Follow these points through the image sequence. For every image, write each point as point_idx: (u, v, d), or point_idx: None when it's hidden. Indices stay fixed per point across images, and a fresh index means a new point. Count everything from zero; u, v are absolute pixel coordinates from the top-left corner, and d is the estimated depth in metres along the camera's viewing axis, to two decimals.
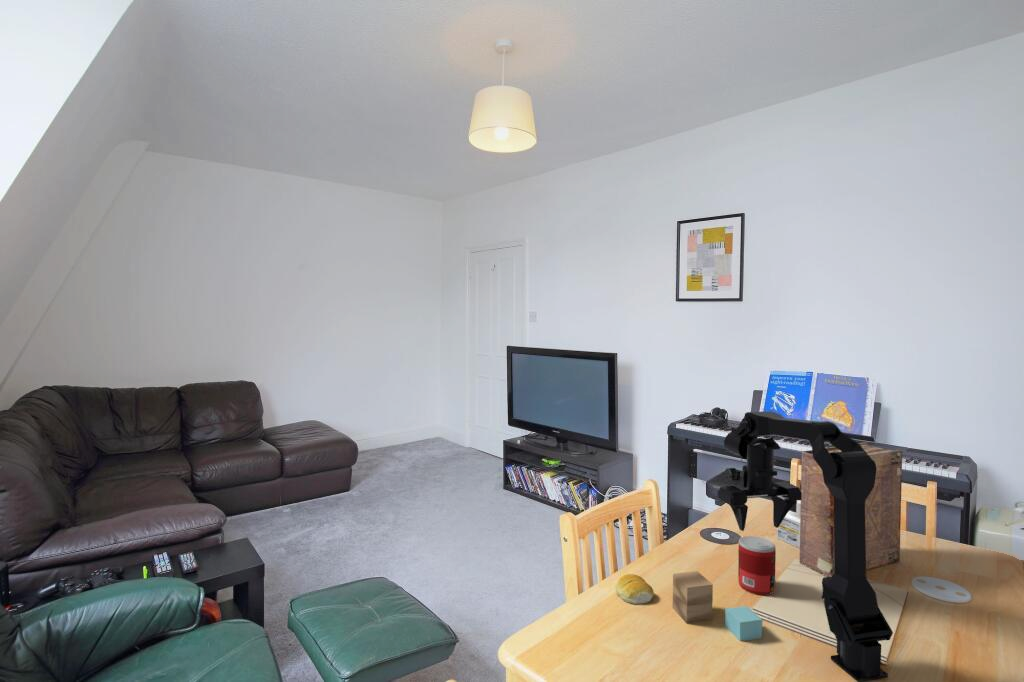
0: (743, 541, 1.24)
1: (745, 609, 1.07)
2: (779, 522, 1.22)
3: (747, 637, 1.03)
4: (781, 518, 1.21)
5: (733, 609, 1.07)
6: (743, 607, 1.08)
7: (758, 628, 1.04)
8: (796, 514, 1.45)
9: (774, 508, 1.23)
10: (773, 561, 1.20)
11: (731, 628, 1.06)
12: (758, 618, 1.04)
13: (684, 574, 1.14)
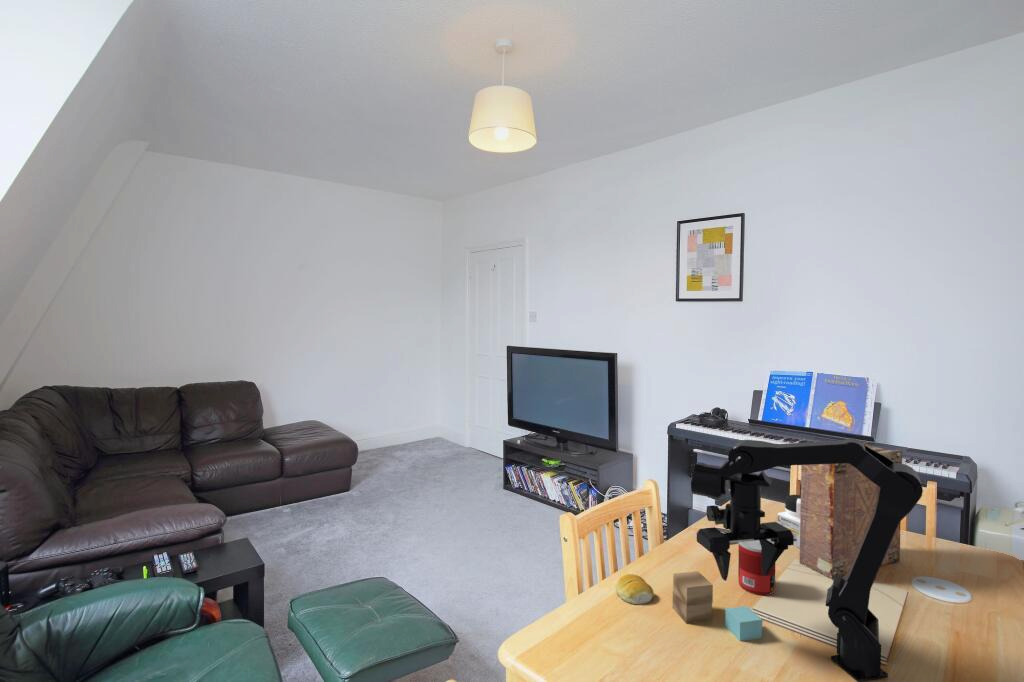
0: (744, 541, 1.24)
1: (745, 609, 1.07)
2: (768, 570, 1.05)
3: (747, 637, 1.03)
4: (770, 565, 1.05)
5: (733, 609, 1.07)
6: (743, 607, 1.08)
7: (758, 628, 1.04)
8: (796, 514, 1.45)
9: (762, 553, 1.07)
10: None
11: (731, 628, 1.06)
12: (758, 618, 1.04)
13: (684, 574, 1.14)
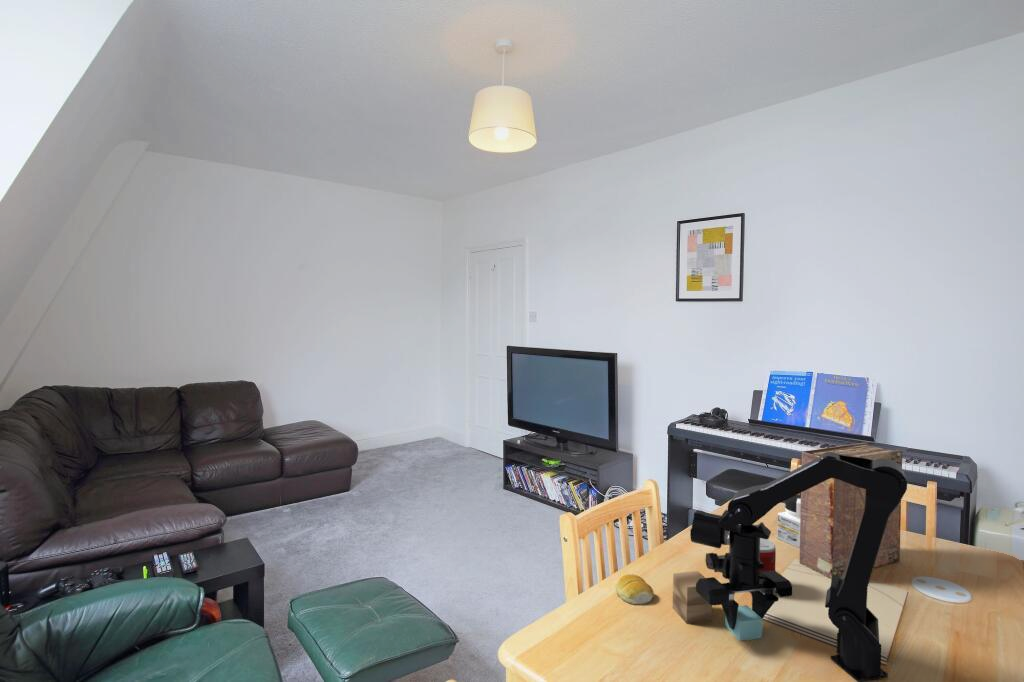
0: None
1: (745, 609, 1.07)
2: None
3: (747, 637, 1.03)
4: None
5: None
6: (743, 606, 1.08)
7: (758, 627, 1.04)
8: (796, 514, 1.45)
9: (753, 604, 1.07)
10: (773, 561, 1.20)
11: None
12: (758, 617, 1.04)
13: (684, 574, 1.14)
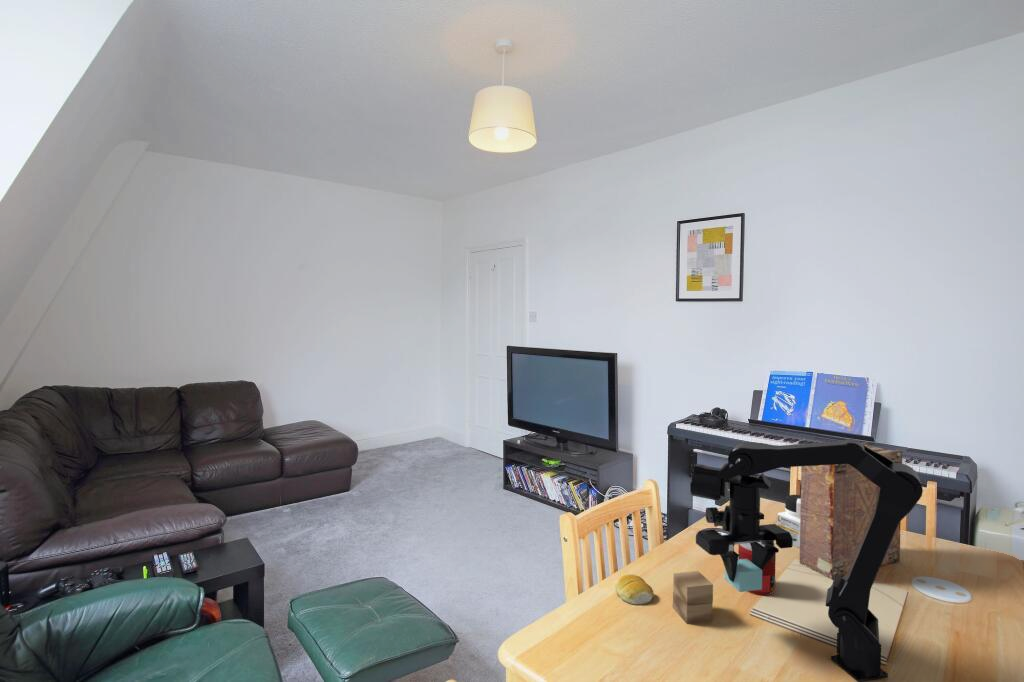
0: None
1: (745, 561, 1.07)
2: None
3: (747, 588, 1.03)
4: (760, 568, 1.05)
5: None
6: (742, 560, 1.08)
7: (758, 579, 1.03)
8: (796, 514, 1.45)
9: (753, 556, 1.07)
10: (773, 561, 1.20)
11: None
12: (758, 569, 1.04)
13: (685, 574, 1.14)
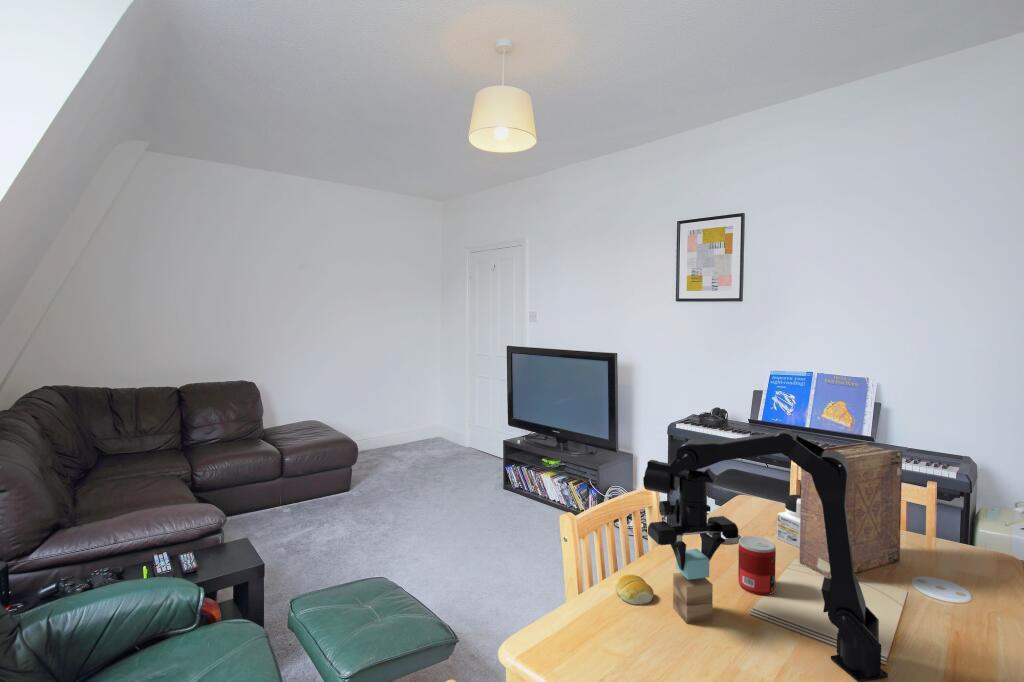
0: (744, 541, 1.24)
1: (695, 551, 1.13)
2: None
3: (695, 576, 1.09)
4: None
5: None
6: (693, 549, 1.14)
7: (705, 567, 1.10)
8: (796, 514, 1.45)
9: (702, 547, 1.13)
10: (773, 561, 1.20)
11: None
12: (706, 558, 1.10)
13: None
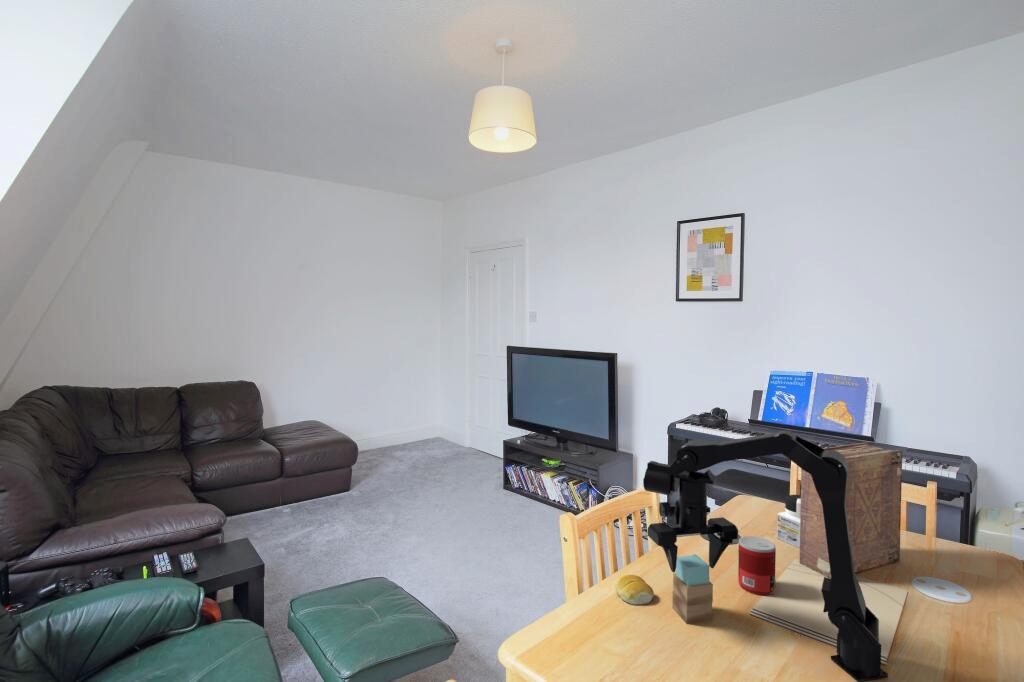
0: (744, 541, 1.24)
1: (694, 557, 1.13)
2: (714, 562, 1.12)
3: (695, 582, 1.10)
4: (716, 558, 1.11)
5: (683, 557, 1.14)
6: (692, 556, 1.14)
7: (705, 573, 1.10)
8: (796, 514, 1.45)
9: (710, 547, 1.14)
10: (773, 561, 1.20)
11: (681, 574, 1.12)
12: (705, 564, 1.10)
13: None
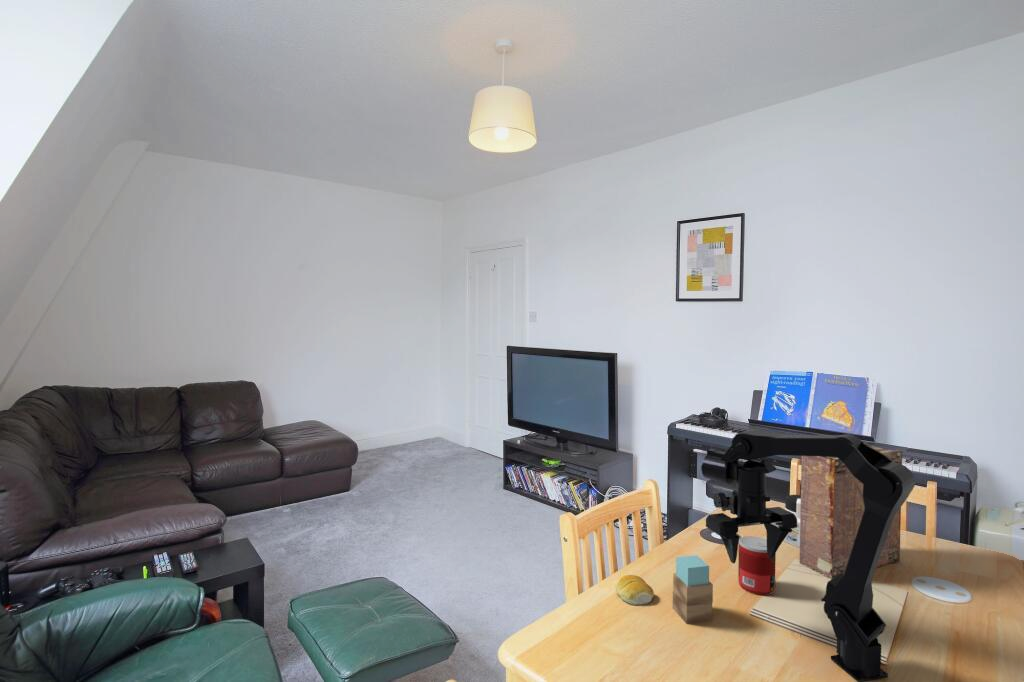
0: (744, 541, 1.24)
1: (694, 558, 1.13)
2: (773, 552, 1.11)
3: (695, 582, 1.09)
4: (775, 548, 1.10)
5: (683, 558, 1.13)
6: (692, 556, 1.14)
7: (705, 574, 1.10)
8: (796, 514, 1.45)
9: (767, 537, 1.12)
10: (773, 561, 1.20)
11: (681, 574, 1.12)
12: (705, 564, 1.10)
13: None
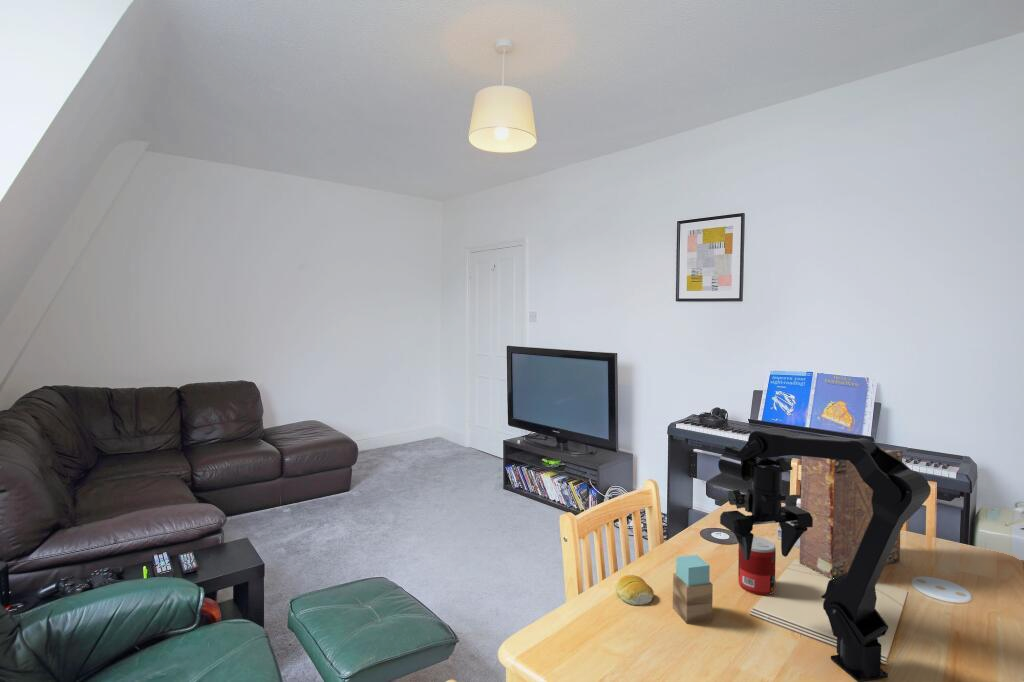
0: None
1: (694, 557, 1.14)
2: (788, 551, 1.11)
3: (695, 582, 1.10)
4: (790, 546, 1.10)
5: (683, 557, 1.14)
6: (693, 556, 1.14)
7: (705, 573, 1.10)
8: None
9: (782, 535, 1.12)
10: (773, 561, 1.20)
11: (681, 574, 1.12)
12: (706, 564, 1.10)
13: None
